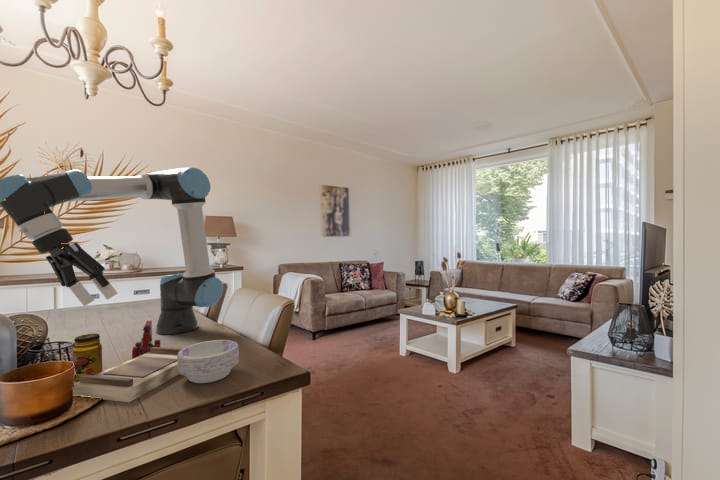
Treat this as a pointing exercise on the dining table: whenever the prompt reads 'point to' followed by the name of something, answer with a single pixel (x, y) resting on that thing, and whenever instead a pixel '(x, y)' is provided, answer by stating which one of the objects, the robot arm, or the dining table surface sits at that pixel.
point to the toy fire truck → (145, 342)
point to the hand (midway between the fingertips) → (100, 300)
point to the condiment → (87, 355)
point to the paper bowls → (208, 360)
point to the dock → (131, 376)
